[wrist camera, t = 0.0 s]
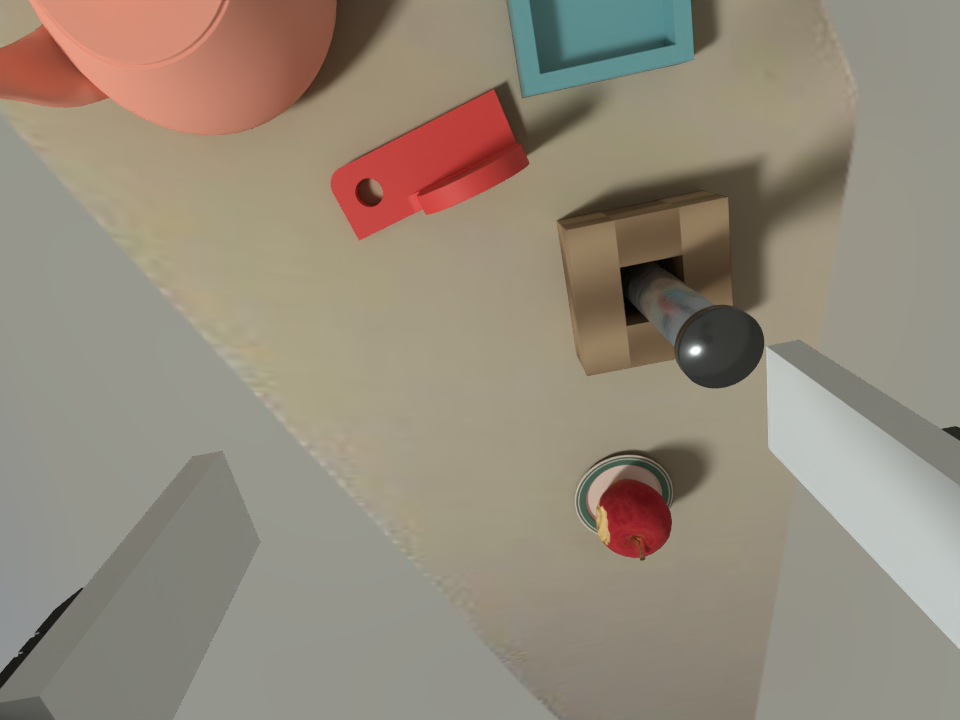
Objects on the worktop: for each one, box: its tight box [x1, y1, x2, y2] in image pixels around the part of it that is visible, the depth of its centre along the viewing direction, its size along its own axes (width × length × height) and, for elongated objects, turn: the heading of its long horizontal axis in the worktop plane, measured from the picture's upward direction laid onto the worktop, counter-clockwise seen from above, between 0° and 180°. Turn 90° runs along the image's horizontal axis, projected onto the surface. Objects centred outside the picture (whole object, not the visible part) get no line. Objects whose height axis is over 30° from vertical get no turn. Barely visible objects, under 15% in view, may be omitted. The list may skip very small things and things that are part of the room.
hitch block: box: [557, 191, 733, 376], centre depth 40 cm, size 10×10×4 cm
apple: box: [575, 455, 673, 560], centre depth 46 cm, size 8×8×6 cm
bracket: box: [331, 89, 529, 240], centre depth 35 cm, size 12×4×8 cm, turn 115°
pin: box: [620, 261, 764, 388], centre depth 35 cm, size 4×4×15 cm
